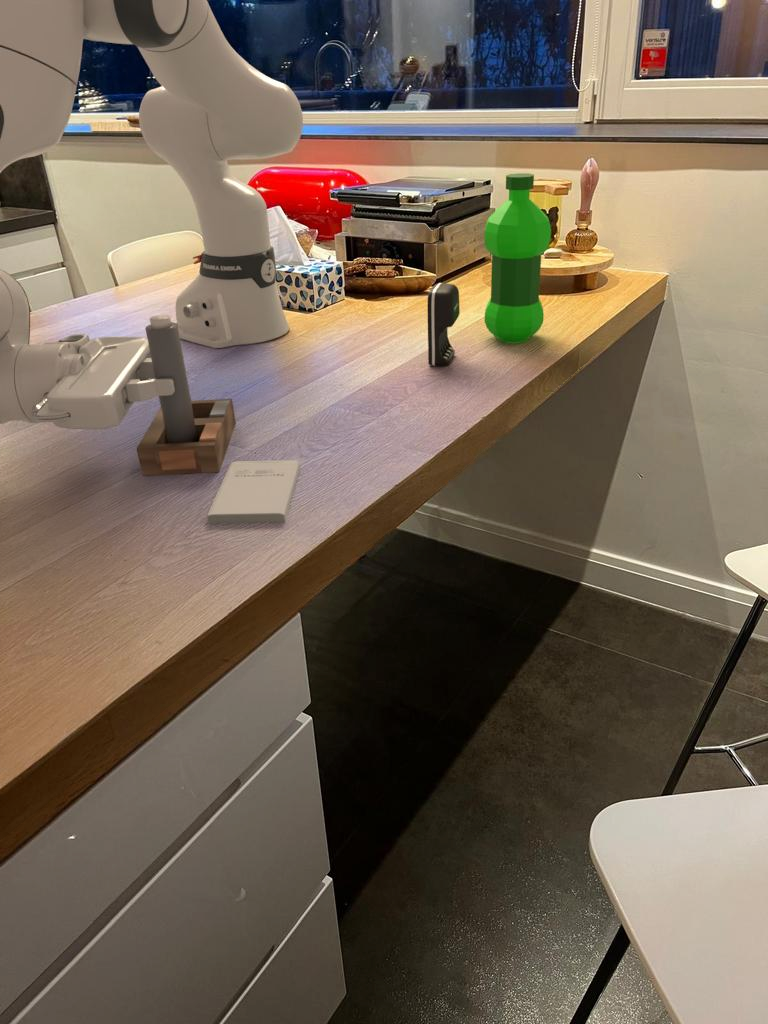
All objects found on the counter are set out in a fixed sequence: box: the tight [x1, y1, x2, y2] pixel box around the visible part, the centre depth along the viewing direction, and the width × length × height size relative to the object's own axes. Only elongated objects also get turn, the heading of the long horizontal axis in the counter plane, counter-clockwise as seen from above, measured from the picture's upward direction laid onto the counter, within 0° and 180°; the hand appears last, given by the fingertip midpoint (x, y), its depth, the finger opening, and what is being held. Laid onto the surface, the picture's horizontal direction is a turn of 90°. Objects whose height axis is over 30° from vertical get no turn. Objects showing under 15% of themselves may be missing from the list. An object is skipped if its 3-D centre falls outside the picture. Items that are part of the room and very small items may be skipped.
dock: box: [136, 398, 237, 477], centre depth 97 cm, size 14×9×4 cm, turn 1°
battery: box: [427, 282, 461, 367], centre depth 118 cm, size 7×4×11 cm, turn 165°
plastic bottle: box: [483, 172, 552, 344], centre depth 123 cm, size 10×10×25 cm
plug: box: [145, 314, 198, 444], centre depth 90 cm, size 4×4×16 cm
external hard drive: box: [206, 459, 301, 524], centre depth 87 cm, size 2×8×12 cm
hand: (178, 377), depth 89 cm, fingers closed on plug, 3 cm apart
